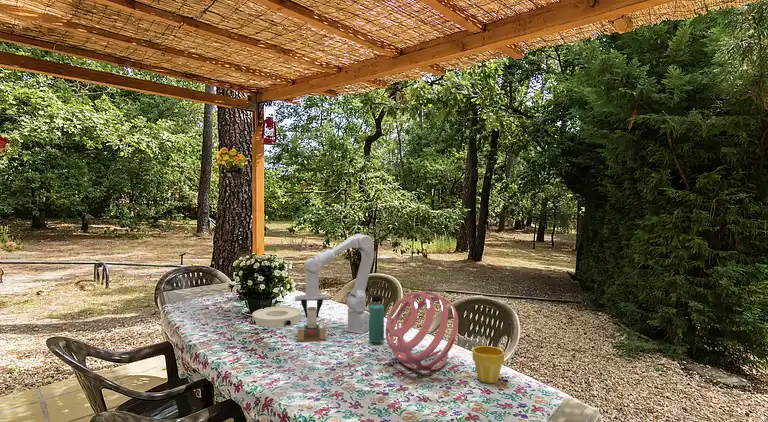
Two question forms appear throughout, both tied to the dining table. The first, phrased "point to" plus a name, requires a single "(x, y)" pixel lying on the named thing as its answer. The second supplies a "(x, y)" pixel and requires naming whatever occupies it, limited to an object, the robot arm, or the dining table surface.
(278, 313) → the ashtray
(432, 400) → the dining table surface
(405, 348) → the spiral basket
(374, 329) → the beverage bottle
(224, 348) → the dining table surface
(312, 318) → the grayish brown rectangular block
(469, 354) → the dining table surface
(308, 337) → the stand base
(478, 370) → the plant pot
